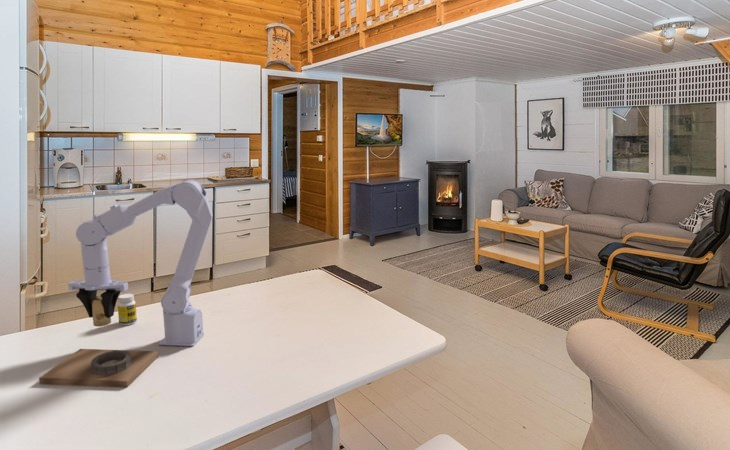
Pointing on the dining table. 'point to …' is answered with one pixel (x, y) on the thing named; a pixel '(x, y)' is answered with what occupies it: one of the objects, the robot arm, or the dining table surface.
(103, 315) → the cylinder
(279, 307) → the dining table surface
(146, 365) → the jig board
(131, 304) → the supplement bottle
